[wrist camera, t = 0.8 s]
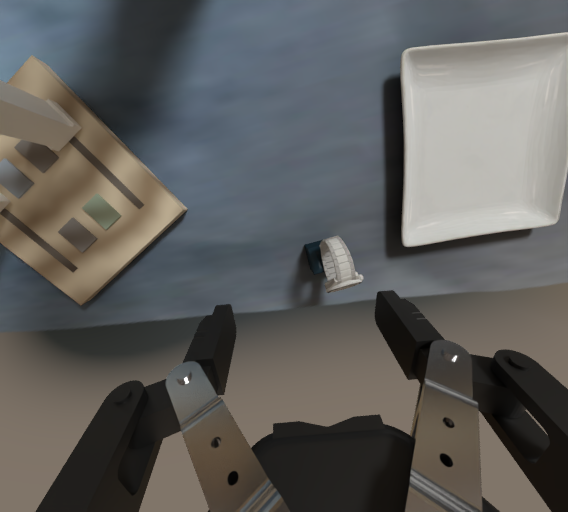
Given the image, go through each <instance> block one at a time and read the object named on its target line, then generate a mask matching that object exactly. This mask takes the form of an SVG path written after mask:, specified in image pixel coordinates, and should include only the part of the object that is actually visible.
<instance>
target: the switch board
mask: <svg viewBox="0 0 568 512" xmlns="http://www.w3.org/2000/svg"><path fill="white" fill-rule="evenodd" d="M7 84H9V85H12V86H14V87H16V88H18V89H20V90H23V91H25V92H27V93H29V94H32V95H34V96H36V97H38V98H40V99H43V100H45V101H46V100H47V99H50V100H52V101H54V102H56V103H58V104H59V105H60V106H61V107H62V108H63V109H64V110H65V111H66V112H67V113H68V114H69V115H70V116H71V117H72V118H73V119H74V120H75V121H76V122H77V123H78V124H79V125H80V126H81V127H82V128H81V129H80V130H79V131H78V132H77V133H76V134H75V135H74V136H73V137H72V138H71V139H70V141H69V142H68V143H67V144H66V145H65V146H64V147H63V148H62V149H61V150H60V151H55V150H51V149H49V148H48V147H47V146H45V145H41V144H37V143H33V142H29V141H25V140H21V139H17V138H13V137H9V136H5V135H1V134H0V193H1V194H3V195H4V196H5V197H6V198H7V199H9V200H10V201H11V202H10V203H9V204H8V205H7V206H6V207H5V208H4V209H3V210H2V211H1V212H0V243H1V244H2V245H4V246H5V247H6V248H8V249H9V250H10V251H11V252H13V253H14V254H15V255H17V256H18V257H19V258H20V259H22V260H23V261H24V262H26V263H27V264H28V265H29V266H31V267H32V268H33V269H35V270H36V271H37V272H38V273H40V274H41V275H42V276H44V277H45V278H46V279H47V280H49V281H50V282H51V283H53V284H54V285H55V286H57V287H58V288H59V289H60V290H62V291H63V292H64V293H66V294H67V295H68V296H69V297H71V298H72V299H73V300H75V301H76V302H77V303H78V304H80V305H83V304H84V303H86V302H88V301H89V300H91V299H92V298H93V297H94V296H95V295H96V294H97V293H98V292H99V291H101V290H102V289H103V288H104V287H105V286H106V285H107V284H108V283H109V282H110V281H111V280H112V279H113V278H115V277H116V276H117V275H118V274H119V273H120V272H121V271H122V270H123V269H124V268H125V267H126V266H127V265H129V264H130V263H131V262H132V261H133V260H134V259H135V258H136V257H137V256H138V255H139V254H140V253H141V252H142V251H144V250H145V249H146V248H147V247H148V246H149V245H150V244H151V243H152V242H153V241H154V240H155V239H156V238H158V237H159V236H160V235H161V234H162V233H163V232H164V231H165V230H166V229H167V228H168V227H169V226H170V225H171V224H173V223H174V222H175V221H176V220H177V219H178V218H179V217H180V216H181V215H182V214H183V213H184V212H185V211H187V210H188V209H187V208H186V207H185V206H184V205H183V204H182V203H181V202H180V201H179V200H178V199H177V198H176V197H175V196H174V195H173V194H172V193H171V192H170V191H169V190H168V189H167V187H166V186H165V185H164V184H163V183H162V182H161V181H160V180H159V179H158V178H157V177H156V176H155V175H154V174H153V173H152V172H151V171H150V170H149V169H148V168H147V167H146V166H145V165H144V164H143V163H142V162H141V161H140V160H139V159H138V158H137V157H136V156H135V155H134V154H133V153H132V152H131V150H130V149H129V148H128V147H127V146H126V145H125V144H124V143H123V142H122V141H121V140H120V139H119V138H118V137H117V136H116V135H115V134H114V133H113V132H112V131H111V130H110V129H109V128H108V127H107V126H106V125H105V124H104V123H103V122H102V121H101V120H100V119H99V118H98V117H97V116H96V115H95V113H94V112H93V111H92V110H91V109H90V108H89V107H88V106H87V105H86V104H85V103H84V102H83V101H82V100H81V99H80V98H79V97H78V96H77V95H76V94H75V93H74V92H73V91H72V90H71V89H70V88H69V87H68V86H67V85H66V84H65V83H64V82H63V81H62V80H61V79H60V78H59V76H58V75H57V74H56V73H55V72H54V71H53V70H52V69H51V68H50V67H49V66H48V65H47V64H45V63H43V62H42V61H40V60H39V59H37V58H35V57H34V56H31V57H30V58H29V59H28V60H27V61H26V62H25V63H24V65H23V66H22V67H21V68H20V69H19V70H18V71H17V72H16V73H15V75H14V76H13V77H12V78H11V79H10V80H9V81H8V82H7Z"/></svg>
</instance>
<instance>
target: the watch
mask: <svg viewBox="0 0 568 512" xmlns="http://www.w3.org/2000/svg"><path fill="white" fill-rule="evenodd" d="M305 249H306V253H307V257H308V261H309V265H310V269H311V270H312V272H313V273H314V274H318V273H322V272H325V274H326V277H327V279H328V281H327V282H326V283H325V287H326V292H327V293H329V292H335V291H339V290H342V289H346V288H349V287H352V286H355V285H357V284H359V283H361V282H362V281H361V280H363V276H362V275H358V273H357V272H355V270H354V269H355V268H354V265H353V261H352V258H351V256H350V253H349V250H348V249H347V247H346V245H345V243H344V242H343V239H341V238H340V237H339V236H335V237H331V238H328V239H324V240H321V241H317V242H313V243H310V244H306V245H305ZM345 254H346V255H345ZM326 271H327V272H326Z"/></svg>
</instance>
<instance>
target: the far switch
mask: <svg viewBox="0 0 568 512" xmlns="http://www.w3.org/2000/svg"><path fill="white" fill-rule="evenodd" d="M10 202H11V201H10V200H9V199H7V198H6V197H5V196H4V195H3V194H1V193H0V212H1V211H2V210H3V209H4V208H5V207H6V206H7V205H8V204H9V203H10Z"/></svg>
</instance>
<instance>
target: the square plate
mask: <svg viewBox="0 0 568 512" xmlns="http://www.w3.org/2000/svg"><path fill="white" fill-rule="evenodd" d="M400 68H401V72H400V73H401V94H402V110H403V129H404V131H403V133H404V180H403V182H404V183H403V202H402V226H401V236H402V244H403V246H405V247H413V246H420V245H426V244H432V243H438V242H443V241H449V240H454V239H460V238H467V237H472V236H478V235H485V234H492V233H499V232H506V231H514V230H522V229H530V228H538V227H545V226H550V225H554V224H556V223H557V222H558V219H559V215H560V210H561V204H562V199H563V193H564V188H565V182H566V177H567V171H568V32H566V33H557V34H549V35H540V36H532V37H523V38H514V39H504V40H493V41H481V42H470V43H457V44H444V45H433V46H423V47H414V48H409V49H406V50H405V51H404V52H403V53H402V56H401V67H400Z"/></svg>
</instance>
